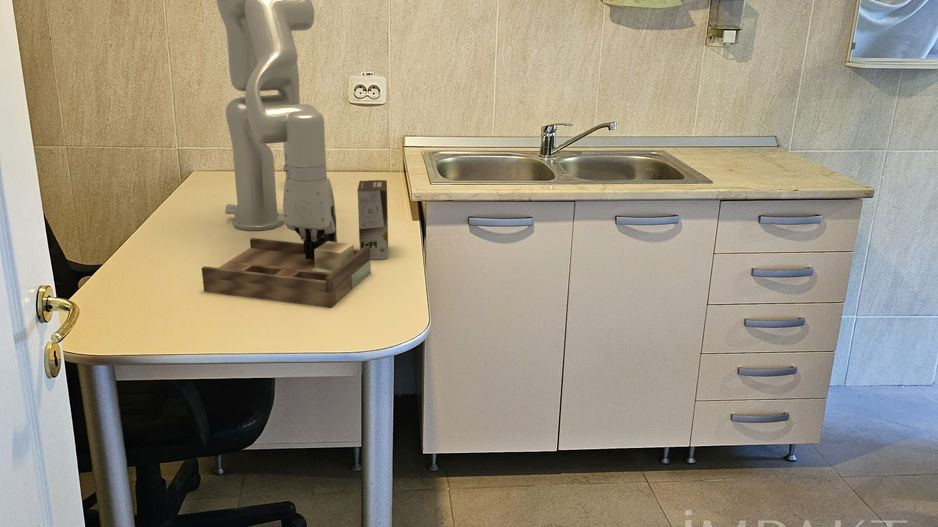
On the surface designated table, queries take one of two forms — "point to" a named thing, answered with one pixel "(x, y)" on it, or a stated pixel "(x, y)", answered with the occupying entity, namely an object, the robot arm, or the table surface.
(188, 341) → the table surface
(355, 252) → the box
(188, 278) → the table surface
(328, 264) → the maple block
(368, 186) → the coffee box
